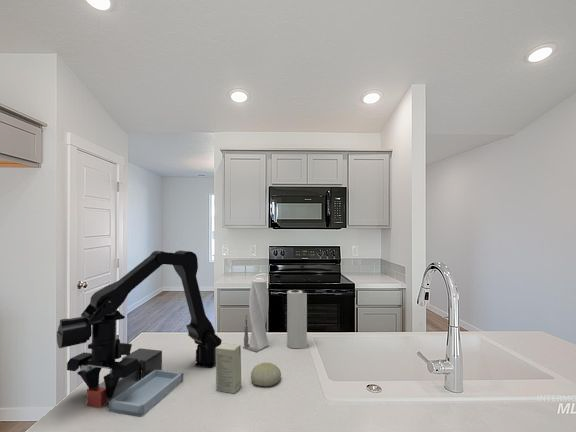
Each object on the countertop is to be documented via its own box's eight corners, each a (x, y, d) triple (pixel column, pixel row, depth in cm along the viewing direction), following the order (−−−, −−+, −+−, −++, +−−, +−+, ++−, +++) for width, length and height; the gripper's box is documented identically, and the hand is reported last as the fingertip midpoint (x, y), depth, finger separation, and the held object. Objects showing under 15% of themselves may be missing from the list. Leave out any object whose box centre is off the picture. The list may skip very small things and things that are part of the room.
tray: (183, 381, 98) (183, 372, 98) (141, 416, 80) (141, 406, 80) (155, 377, 100) (155, 369, 100) (108, 411, 82) (108, 401, 82)
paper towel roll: (284, 344, 128) (284, 290, 128) (298, 342, 130) (298, 288, 131) (292, 351, 121) (292, 293, 122) (306, 348, 124) (306, 292, 124)
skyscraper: (257, 341, 131) (257, 272, 132) (273, 346, 126) (273, 274, 127) (242, 348, 124) (243, 274, 125) (258, 353, 119) (259, 276, 120)
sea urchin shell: (289, 373, 99) (276, 360, 95) (276, 398, 95) (261, 386, 91) (268, 364, 106) (255, 351, 102) (255, 387, 101) (241, 375, 97)
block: (161, 370, 105) (162, 350, 105) (145, 382, 97) (145, 360, 98) (139, 367, 107) (139, 348, 107) (121, 379, 99) (122, 358, 100)
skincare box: (241, 386, 95) (242, 344, 95) (234, 394, 91) (235, 350, 91) (222, 383, 97) (222, 342, 97) (214, 390, 93) (215, 347, 93)
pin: (140, 380, 98) (140, 367, 98) (100, 407, 84) (101, 392, 84) (127, 379, 99) (128, 365, 99) (86, 405, 85) (87, 389, 85)
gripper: (153, 331, 93) (152, 386, 93) (99, 326, 98) (98, 378, 97) (125, 345, 82) (123, 407, 82) (66, 338, 87) (64, 397, 86)
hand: (102, 396), depth 87 cm, fingers closed on pin, 4 cm apart
